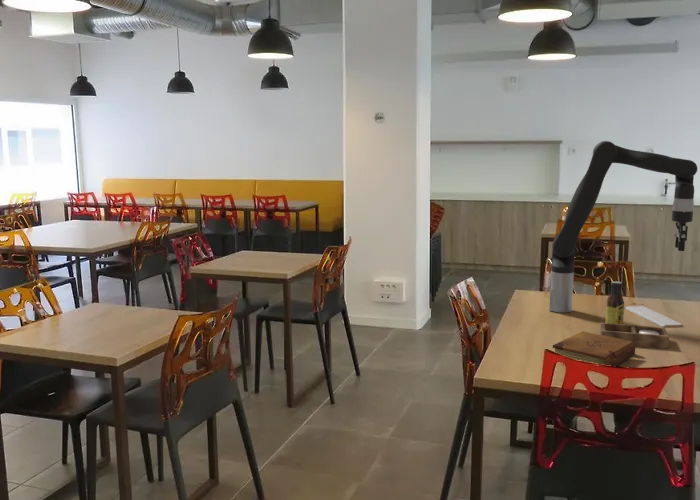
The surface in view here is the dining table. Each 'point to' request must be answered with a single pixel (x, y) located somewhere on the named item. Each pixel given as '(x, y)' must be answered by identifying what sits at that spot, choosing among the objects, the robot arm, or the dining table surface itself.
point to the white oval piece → (648, 332)
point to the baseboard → (653, 316)
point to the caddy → (636, 334)
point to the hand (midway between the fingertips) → (679, 249)
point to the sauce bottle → (615, 304)
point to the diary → (596, 348)
